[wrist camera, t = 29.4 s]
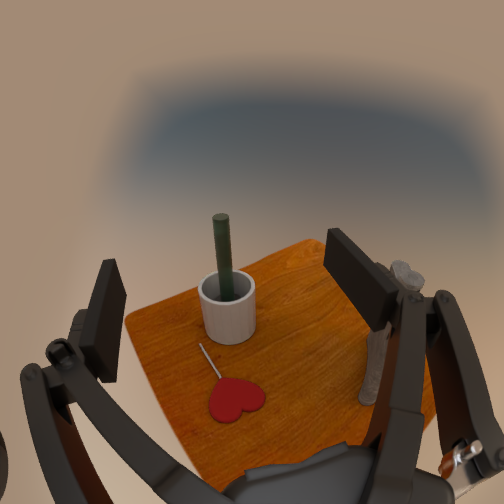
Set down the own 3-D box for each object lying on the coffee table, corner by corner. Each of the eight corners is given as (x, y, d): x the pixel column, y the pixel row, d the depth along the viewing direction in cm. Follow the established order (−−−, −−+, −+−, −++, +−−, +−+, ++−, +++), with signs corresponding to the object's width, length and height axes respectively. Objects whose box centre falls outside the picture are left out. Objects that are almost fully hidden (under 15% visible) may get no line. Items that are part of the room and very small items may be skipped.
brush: (212, 330, 47) (196, 222, 37) (222, 311, 51) (211, 208, 41) (239, 336, 46) (231, 226, 35) (247, 316, 50) (243, 211, 39)
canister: (197, 337, 46) (188, 297, 42) (216, 304, 54) (211, 265, 49) (246, 349, 44) (244, 309, 39) (261, 313, 51) (261, 273, 47)
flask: (386, 338, 44) (418, 249, 35) (380, 407, 33) (431, 320, 24) (367, 334, 45) (394, 244, 36) (356, 404, 34) (399, 314, 25)
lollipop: (177, 354, 43) (219, 428, 32) (176, 351, 43) (218, 426, 32) (222, 337, 47) (271, 403, 36) (221, 333, 46) (271, 400, 35)
